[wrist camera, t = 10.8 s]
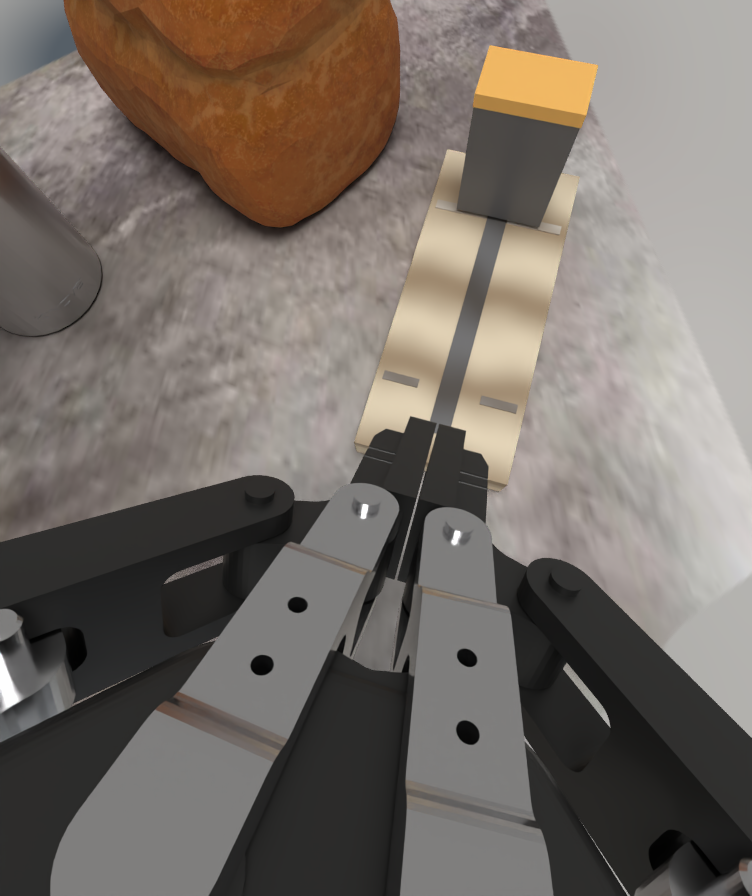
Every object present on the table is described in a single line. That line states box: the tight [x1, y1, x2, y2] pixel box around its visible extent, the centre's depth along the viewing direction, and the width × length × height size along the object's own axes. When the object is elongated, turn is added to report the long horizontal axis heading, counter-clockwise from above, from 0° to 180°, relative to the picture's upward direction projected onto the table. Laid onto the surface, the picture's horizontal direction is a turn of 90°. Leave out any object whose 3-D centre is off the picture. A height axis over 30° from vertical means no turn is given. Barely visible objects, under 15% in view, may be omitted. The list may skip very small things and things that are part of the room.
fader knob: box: [457, 45, 598, 227], centre depth 32 cm, size 4×6×9 cm, turn 73°
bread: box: [64, 0, 400, 227], centre depth 34 cm, size 18×22×17 cm
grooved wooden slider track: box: [354, 150, 580, 492], centre depth 35 cm, size 24×10×3 cm, turn 163°
